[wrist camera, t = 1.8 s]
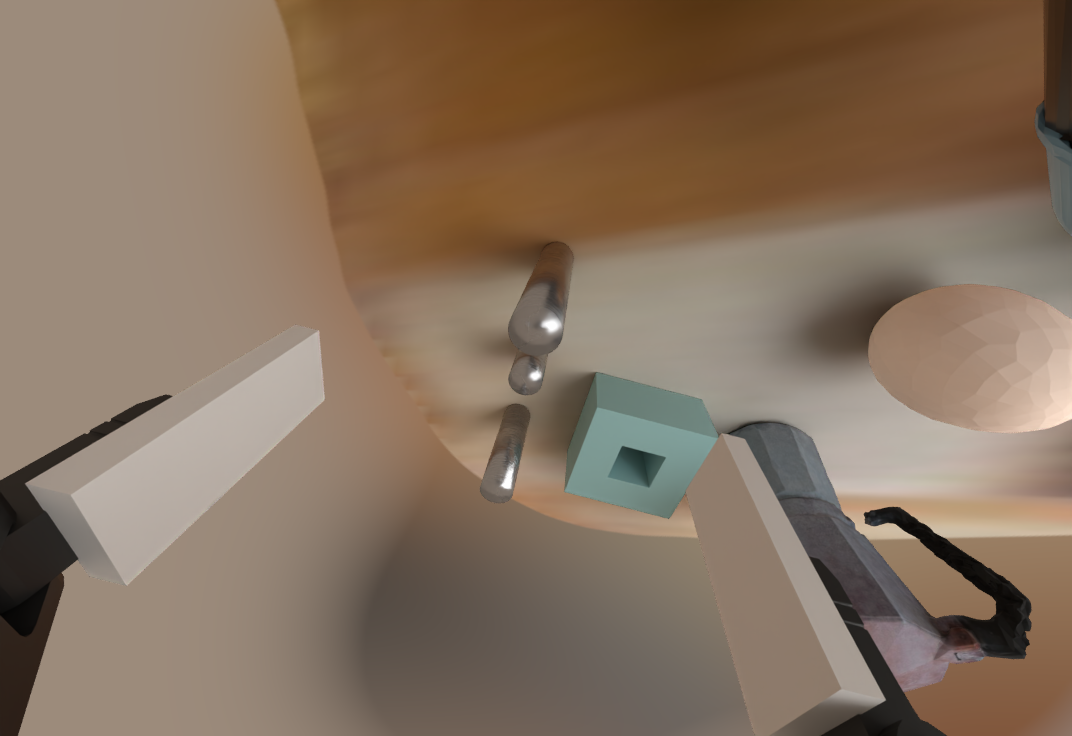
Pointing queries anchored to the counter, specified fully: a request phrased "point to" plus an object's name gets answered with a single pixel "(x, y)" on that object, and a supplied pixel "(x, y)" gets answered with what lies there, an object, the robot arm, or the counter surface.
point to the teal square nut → (637, 445)
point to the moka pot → (886, 568)
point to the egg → (977, 358)
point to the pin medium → (506, 455)
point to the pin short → (527, 373)
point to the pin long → (543, 303)
